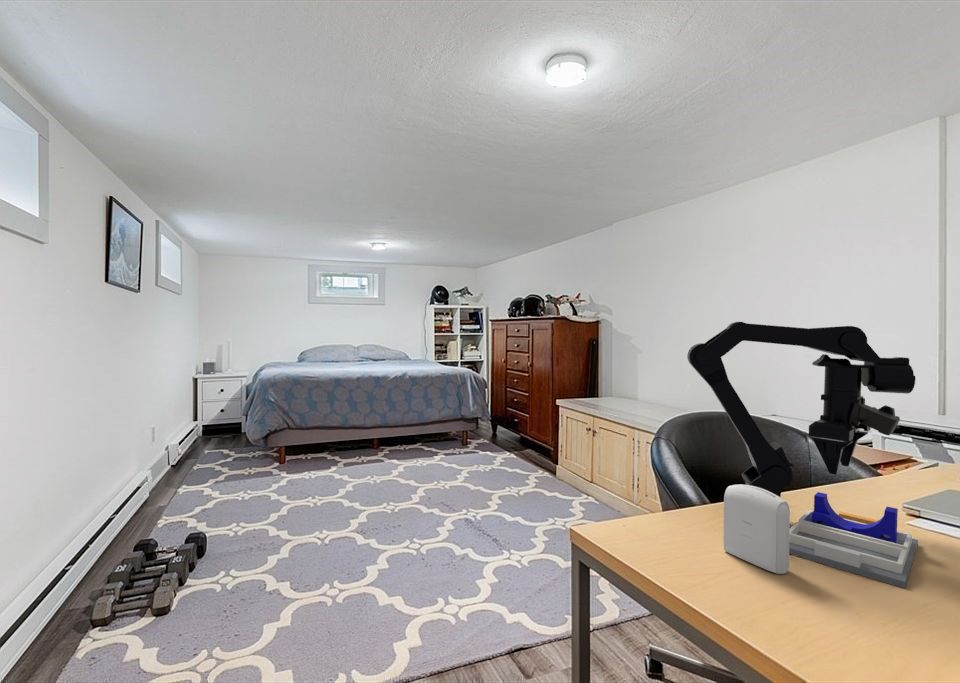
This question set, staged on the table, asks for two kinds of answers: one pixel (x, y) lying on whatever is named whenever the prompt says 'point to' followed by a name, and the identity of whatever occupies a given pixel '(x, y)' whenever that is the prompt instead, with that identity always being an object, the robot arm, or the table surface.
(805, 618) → the table surface
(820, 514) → the blue curved cradle
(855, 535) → the dock board
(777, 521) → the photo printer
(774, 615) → the table surface
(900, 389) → the robot arm
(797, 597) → the table surface
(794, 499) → the table surface
